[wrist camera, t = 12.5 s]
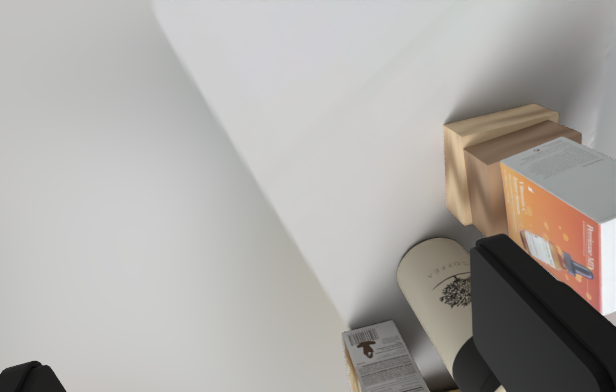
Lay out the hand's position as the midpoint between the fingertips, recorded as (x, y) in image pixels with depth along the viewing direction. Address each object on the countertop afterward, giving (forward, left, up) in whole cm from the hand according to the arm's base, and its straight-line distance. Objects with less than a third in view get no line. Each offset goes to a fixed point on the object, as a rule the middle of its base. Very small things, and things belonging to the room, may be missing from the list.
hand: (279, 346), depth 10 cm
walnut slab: (+13, +22, -27) cm, 37 cm away
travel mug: (+24, +15, -30) cm, 42 cm away
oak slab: (+12, +22, -31) cm, 40 cm away
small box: (+12, +22, -23) cm, 34 cm away
